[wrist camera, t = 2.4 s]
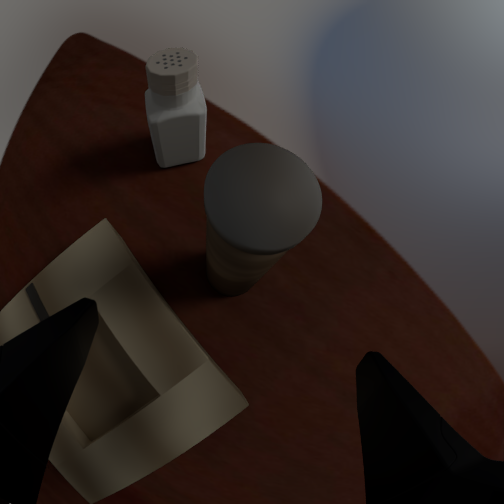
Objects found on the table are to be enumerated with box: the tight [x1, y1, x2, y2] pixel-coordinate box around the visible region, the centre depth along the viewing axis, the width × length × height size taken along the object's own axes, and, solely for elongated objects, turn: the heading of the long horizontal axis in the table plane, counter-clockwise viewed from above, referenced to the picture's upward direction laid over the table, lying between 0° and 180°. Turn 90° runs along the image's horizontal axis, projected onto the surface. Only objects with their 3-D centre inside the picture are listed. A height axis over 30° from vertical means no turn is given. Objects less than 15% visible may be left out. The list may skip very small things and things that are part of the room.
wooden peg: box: [204, 143, 322, 296], centre depth 15 cm, size 4×4×12 cm
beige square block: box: [0, 218, 249, 504], centre depth 15 cm, size 14×14×4 cm
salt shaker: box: [145, 48, 207, 168], centre depth 18 cm, size 4×4×10 cm
